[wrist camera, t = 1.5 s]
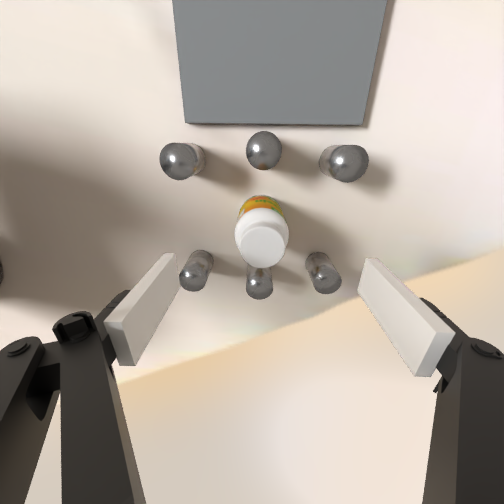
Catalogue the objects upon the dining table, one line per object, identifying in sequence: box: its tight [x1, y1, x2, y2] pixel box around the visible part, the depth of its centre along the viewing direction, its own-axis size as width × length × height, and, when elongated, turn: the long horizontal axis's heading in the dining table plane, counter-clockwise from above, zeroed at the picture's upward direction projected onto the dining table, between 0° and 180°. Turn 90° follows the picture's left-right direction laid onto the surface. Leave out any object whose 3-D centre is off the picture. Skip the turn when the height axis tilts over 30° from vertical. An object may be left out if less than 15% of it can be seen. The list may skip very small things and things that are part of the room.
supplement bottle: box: [235, 195, 289, 268], centre depth 23 cm, size 5×5×10 cm
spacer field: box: [160, 131, 369, 299], centre depth 25 cm, size 19×18×5 cm
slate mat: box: [172, 0, 387, 125], centre depth 20 cm, size 18×12×1 cm, turn 89°
